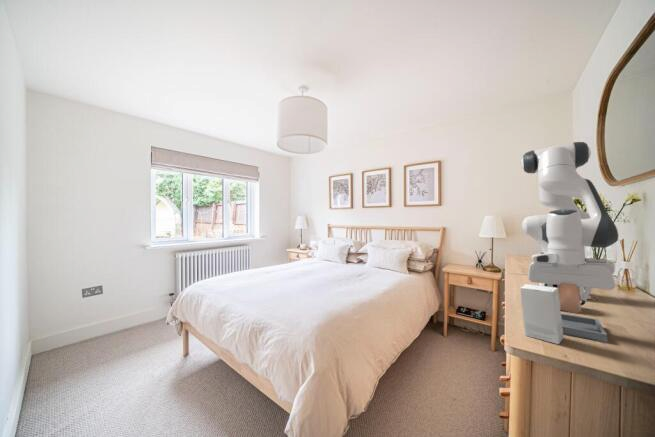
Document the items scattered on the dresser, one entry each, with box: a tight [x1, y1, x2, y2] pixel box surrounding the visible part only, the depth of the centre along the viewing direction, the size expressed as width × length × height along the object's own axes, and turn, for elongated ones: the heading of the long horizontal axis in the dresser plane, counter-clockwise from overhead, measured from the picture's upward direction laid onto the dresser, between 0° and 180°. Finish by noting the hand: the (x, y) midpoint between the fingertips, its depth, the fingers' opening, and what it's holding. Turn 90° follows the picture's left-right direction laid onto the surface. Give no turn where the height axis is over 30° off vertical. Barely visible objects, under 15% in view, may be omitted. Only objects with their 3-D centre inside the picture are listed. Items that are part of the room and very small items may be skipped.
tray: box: [561, 313, 609, 344], centre depth 79 cm, size 14×14×2 cm
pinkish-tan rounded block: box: [557, 283, 582, 314], centre depth 79 cm, size 5×5×9 cm
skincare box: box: [519, 283, 564, 345], centre depth 74 cm, size 8×7×16 cm
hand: (568, 298), depth 79 cm, fingers closed on pinkish-tan rounded block, 5 cm apart
